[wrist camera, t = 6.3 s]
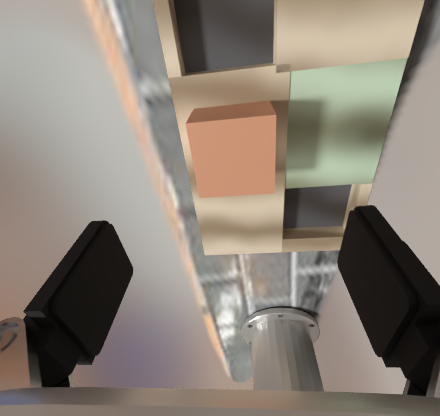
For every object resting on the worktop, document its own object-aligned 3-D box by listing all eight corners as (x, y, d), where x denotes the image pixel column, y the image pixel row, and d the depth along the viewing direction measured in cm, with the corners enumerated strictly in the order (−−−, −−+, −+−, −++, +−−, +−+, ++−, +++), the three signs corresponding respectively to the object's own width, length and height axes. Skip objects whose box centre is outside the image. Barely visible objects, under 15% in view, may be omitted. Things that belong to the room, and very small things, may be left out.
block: (269, 170, 23) (274, 193, 19) (204, 175, 23) (199, 198, 20) (269, 100, 19) (276, 114, 16) (193, 108, 20) (185, 123, 17)
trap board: (347, 237, 29) (354, 249, 28) (206, 243, 31) (204, 255, 29) (437, -121, 14) (464, -142, 12) (146, -68, 16) (136, -79, 14)
